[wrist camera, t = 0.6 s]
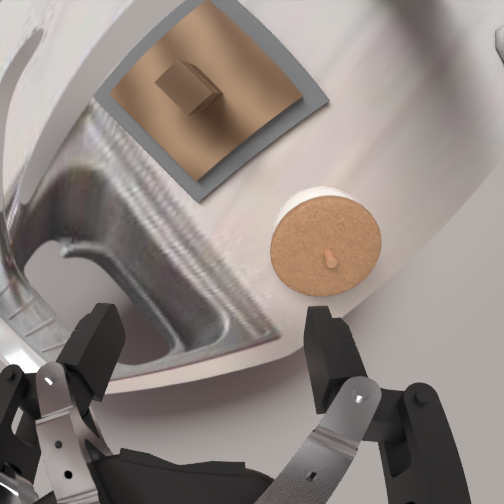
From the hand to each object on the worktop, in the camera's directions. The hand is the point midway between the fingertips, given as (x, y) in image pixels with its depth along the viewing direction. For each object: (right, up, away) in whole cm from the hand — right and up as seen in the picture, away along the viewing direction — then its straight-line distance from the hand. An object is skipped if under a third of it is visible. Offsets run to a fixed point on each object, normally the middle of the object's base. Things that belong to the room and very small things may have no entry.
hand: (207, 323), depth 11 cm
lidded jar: (+9, +7, +21) cm, 24 cm away
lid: (-3, +19, +13) cm, 23 cm away
